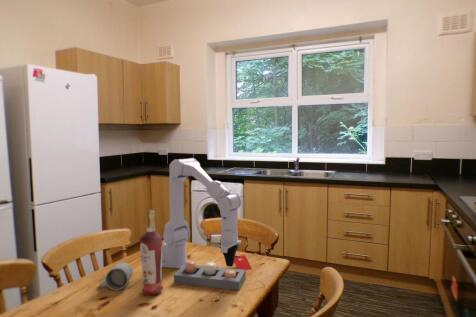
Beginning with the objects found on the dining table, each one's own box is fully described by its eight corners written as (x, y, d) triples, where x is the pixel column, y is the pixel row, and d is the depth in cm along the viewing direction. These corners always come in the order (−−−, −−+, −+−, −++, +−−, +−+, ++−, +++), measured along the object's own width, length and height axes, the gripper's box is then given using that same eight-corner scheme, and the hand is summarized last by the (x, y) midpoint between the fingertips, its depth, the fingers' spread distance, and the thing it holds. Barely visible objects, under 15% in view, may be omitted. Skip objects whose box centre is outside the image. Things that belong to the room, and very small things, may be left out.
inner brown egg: (183, 272, 119) (183, 264, 119) (188, 267, 123) (187, 260, 123) (193, 273, 118) (193, 265, 118) (198, 268, 122) (197, 261, 122)
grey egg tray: (173, 283, 117) (173, 274, 117) (185, 271, 127) (185, 264, 127) (239, 290, 111) (238, 281, 111) (245, 277, 121) (245, 269, 121)
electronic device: (252, 270, 129) (245, 256, 144) (252, 268, 129) (245, 255, 144) (237, 271, 128) (231, 257, 143) (237, 270, 128) (231, 256, 143)
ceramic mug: (134, 279, 121) (133, 259, 120) (128, 290, 112) (126, 268, 112) (104, 281, 120) (103, 260, 119) (96, 291, 112) (95, 269, 111)
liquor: (168, 290, 112) (166, 209, 110) (152, 299, 105) (149, 214, 103) (153, 285, 116) (150, 207, 114) (136, 294, 109) (133, 211, 107)
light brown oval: (223, 282, 116) (223, 274, 116) (226, 277, 120) (226, 269, 119) (234, 283, 115) (234, 275, 115) (237, 278, 119) (236, 270, 118)
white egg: (203, 274, 117) (202, 266, 117) (206, 269, 121) (206, 261, 121) (213, 275, 116) (213, 267, 116) (217, 270, 120) (217, 262, 120)
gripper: (235, 235, 108) (235, 275, 109) (245, 223, 122) (245, 259, 123) (214, 233, 110) (215, 273, 111) (227, 222, 124) (227, 257, 125)
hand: (229, 265), depth 117 cm, fingers closed
